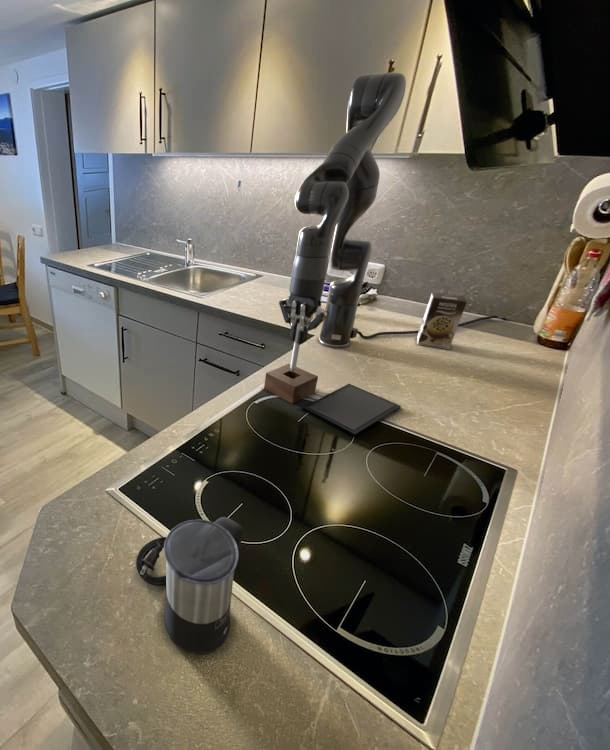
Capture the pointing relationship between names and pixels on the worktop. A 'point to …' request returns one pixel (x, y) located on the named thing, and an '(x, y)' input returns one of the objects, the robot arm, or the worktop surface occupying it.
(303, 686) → the worktop surface
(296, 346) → the stylus
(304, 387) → the stand
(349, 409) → the tablet
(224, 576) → the milk frother
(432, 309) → the brown upright rectangular box
